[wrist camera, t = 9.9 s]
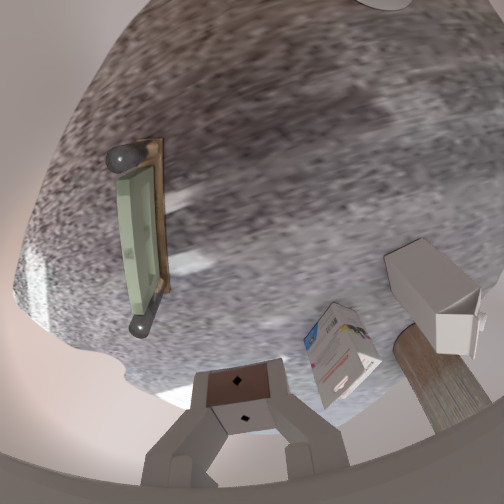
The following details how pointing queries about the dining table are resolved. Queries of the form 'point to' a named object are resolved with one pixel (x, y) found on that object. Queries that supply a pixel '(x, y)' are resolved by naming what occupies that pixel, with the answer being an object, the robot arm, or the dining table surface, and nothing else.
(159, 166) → the drawknife
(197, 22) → the dining table surface
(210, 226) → the dining table surface
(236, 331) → the dining table surface
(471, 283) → the milk carton
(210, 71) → the dining table surface
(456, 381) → the planter
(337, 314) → the ink box
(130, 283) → the gate
